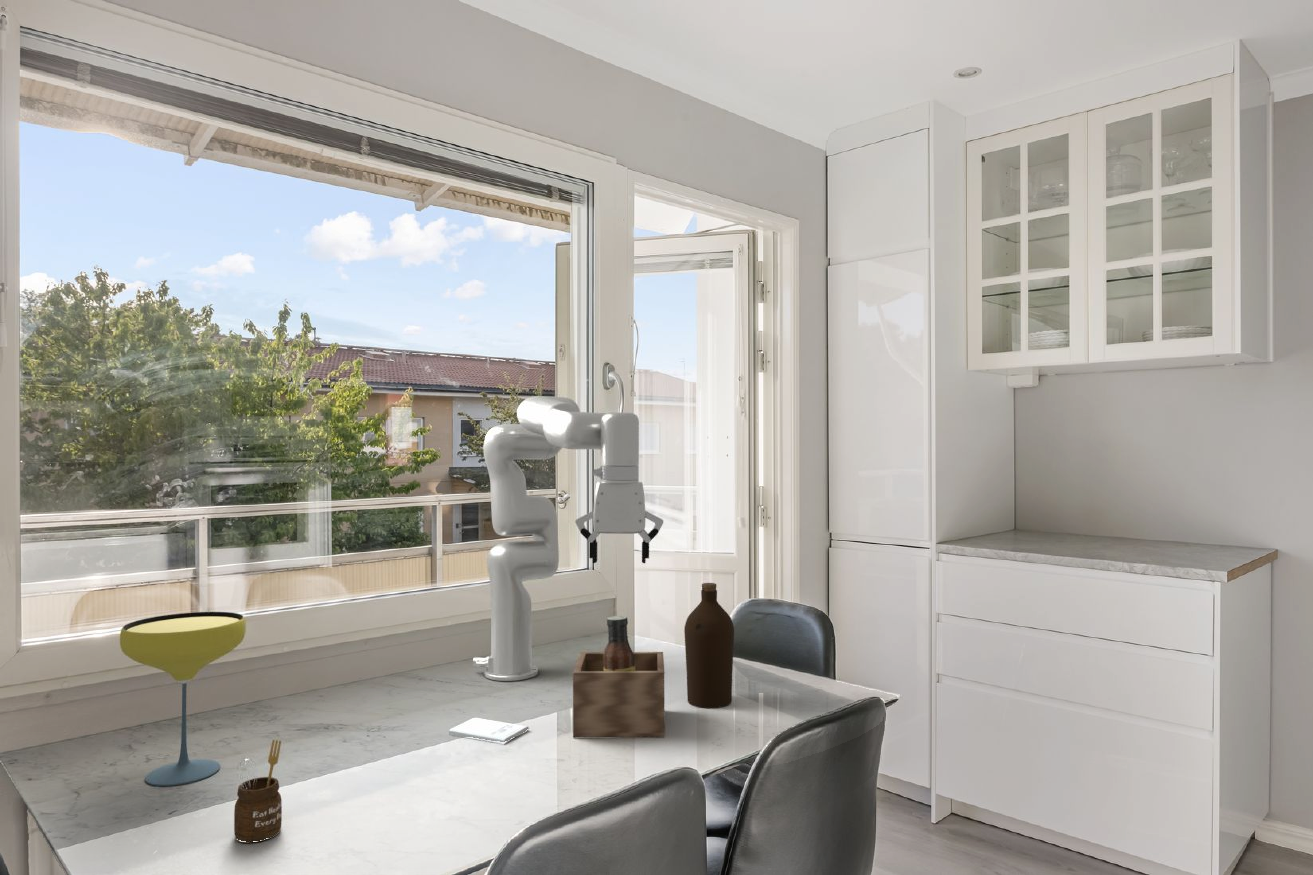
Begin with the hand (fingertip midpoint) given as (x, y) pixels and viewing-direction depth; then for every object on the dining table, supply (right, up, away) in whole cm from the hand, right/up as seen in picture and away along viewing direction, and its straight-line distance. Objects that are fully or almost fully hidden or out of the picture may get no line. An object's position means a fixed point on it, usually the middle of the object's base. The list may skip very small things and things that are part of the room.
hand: (619, 562), depth 161 cm
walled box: (0, -31, -1) cm, 31 cm away
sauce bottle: (0, -31, -1) cm, 31 cm away
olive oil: (+19, -32, +13) cm, 39 cm away
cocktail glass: (-71, -31, -25) cm, 82 cm away
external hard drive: (-24, -32, -6) cm, 41 cm away
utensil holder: (-48, -31, -47) cm, 74 cm away
